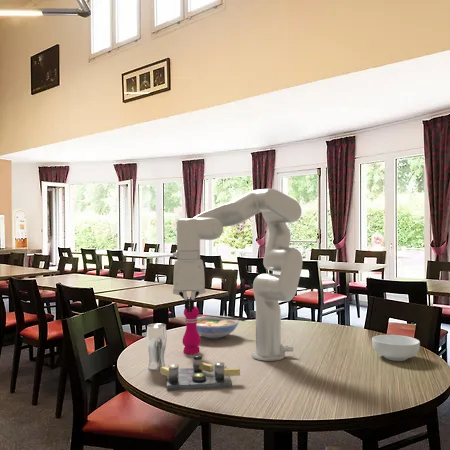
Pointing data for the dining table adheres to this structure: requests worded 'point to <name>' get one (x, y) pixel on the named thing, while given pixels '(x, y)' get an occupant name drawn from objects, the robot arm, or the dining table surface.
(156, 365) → the beer glass
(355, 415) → the dining table surface
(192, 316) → the pepper mill
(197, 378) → the base plate
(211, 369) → the tan lever handle
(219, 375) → the grey knob
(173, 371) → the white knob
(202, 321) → the ramen bowl
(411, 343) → the cereal bowl
